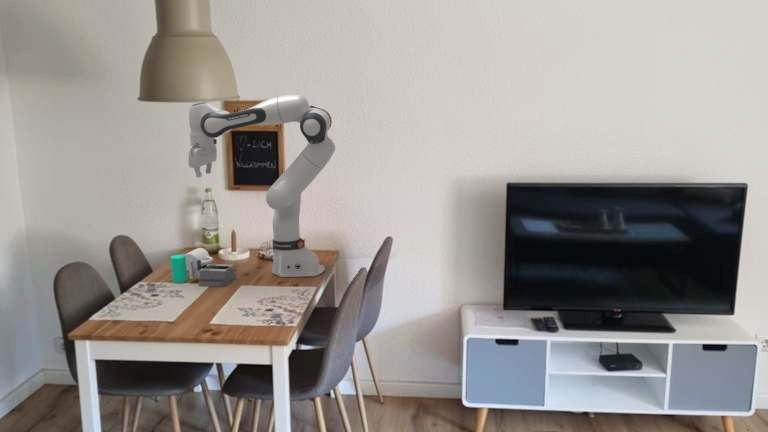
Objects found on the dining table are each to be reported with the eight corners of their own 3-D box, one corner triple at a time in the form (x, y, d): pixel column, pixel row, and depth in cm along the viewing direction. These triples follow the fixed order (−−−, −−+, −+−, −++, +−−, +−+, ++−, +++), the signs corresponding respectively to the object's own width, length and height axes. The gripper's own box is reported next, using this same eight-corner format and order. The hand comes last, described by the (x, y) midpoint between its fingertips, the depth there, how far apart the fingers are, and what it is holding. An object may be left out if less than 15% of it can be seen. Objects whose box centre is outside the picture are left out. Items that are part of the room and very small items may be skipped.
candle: (189, 278, 312) (187, 250, 309) (184, 282, 306) (182, 254, 303) (175, 278, 312) (173, 250, 310) (170, 282, 306) (167, 254, 304)
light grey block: (216, 274, 309) (215, 258, 307) (210, 279, 303) (209, 262, 301) (195, 274, 310) (194, 258, 309) (189, 278, 305) (188, 262, 303)
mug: (182, 270, 323) (180, 253, 321) (194, 264, 332) (192, 247, 331) (206, 272, 320) (205, 254, 318) (218, 266, 329) (216, 248, 327)
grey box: (235, 277, 311) (234, 263, 309) (224, 286, 299) (223, 271, 298) (210, 277, 313) (209, 262, 311) (199, 285, 301) (197, 271, 300)
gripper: (198, 145, 298) (200, 179, 301) (218, 139, 318) (220, 171, 321) (183, 145, 299) (185, 179, 302) (204, 139, 319) (206, 171, 322)
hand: (203, 175), depth 312 cm, fingers open, 8 cm apart
